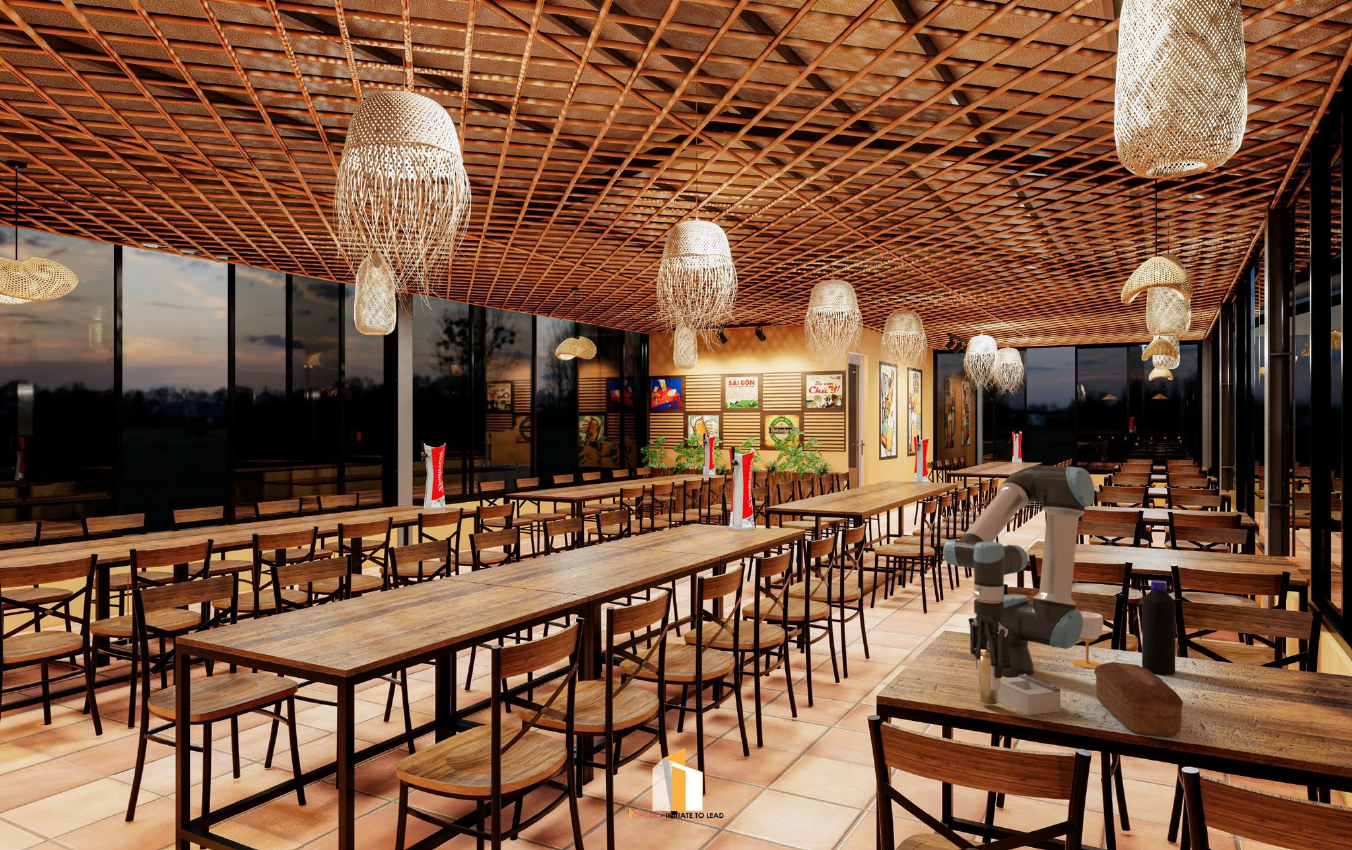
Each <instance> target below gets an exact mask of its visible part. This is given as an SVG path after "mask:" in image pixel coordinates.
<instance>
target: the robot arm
mask: <svg viewBox="0 0 1352 850" xmlns="http://www.w3.org/2000/svg"><path fill="white" fill-rule="evenodd" d="M1094 499H1095V485H1094V481H1093V478H1092V477H1091V474H1090V472H1089V471H1088V470H1086V469H1085V468H1083V467H1077V466H1062V465H1061V466H1056V465H1054V466H1053V465H1031V466H1027V467H1025V468H1022V469H1020V470H1018V471H1016V472H1014V473H1013V474H1012V475H1010V476H1008V477H1007V478H1006V479H1005V480H1004V481H1003V482H1002V483H1001V484H1000V485H999V487H998V489H997V493H996V495H995V497H994V498H993V499H992V500H991V501H990V503H989V504H988V505H987V507H986V508H984V510H983V511H982V512H981V513H980V515H979V516H978V517H977V518H976V520H975V521H974V522H973V523H972V524H971V526H970V527H968V528H967V530H966V531H965V533H964V534H963V535H962V536H961V538H960V539H957V538H955V539H954V538H953V539H948V540H946V542H945V544H944V546H943V550H942V553H943V558H944V561H945V562H946V563H947V564H949V565H952V566H957V567H960V568H966V569H967V568H969V569H973V575H974V576H973V577H974V578H973V588H974V589H973V597H974V598H975V599H974V600H973V611H974V613H975V617H970V618H968V623H969V634H970V635H969V637H970V639H969V642H970V644H969V645H970V646H969V647H970V649H969V650H970V654H971V655H973V656H974V659H976V662H975V663H976V666H975V667H976V670H977V672H976V673H977V674H976V675H977V681H976V682H977V684H978V685H980V648H991V655H992V661H993V664H991V690H998V689H1001V679H1003V678H1002V677H1003V676H1004V677H1005V676H1006V677H1010V678H1014V677H1019V675H1022V674H1026V675H1028V676H1030V677H1032V676H1033V675H1034V673H1035V666H1034V662H1033V660H1032V655H1031V652H1030V650H1029V642H1030V643H1036V644H1040V645H1044V646H1049V647H1051V648H1055V649H1056V648H1059V649H1064V650H1067V649H1068V650H1069V649H1072V648H1073V647H1074V646H1075V645H1076V644H1077V642H1078V641H1079V640H1080V638H1079V637H1080V635H1081V632H1082V627H1083V619H1082V614H1081V613H1080V612H1081V611H1080V610H1077V603H1076V602H1075V600H1073V598H1072V591H1073V582H1074V581H1073V579H1074V568H1075V561H1076V560H1075V559H1076V558H1075V556H1076V548H1077V547H1076V546H1077V537H1078V535H1077V534H1078V525H1079V518H1080V517H1081V516H1083V515H1084V514H1085V512H1086V511H1085V510H1086V508H1088V507H1091V506H1092V505H1093V504H1094ZM1031 503H1033V504H1034V503H1041V504H1042V506H1041V507H1042V510H1043V511H1044V512H1045V513H1046V521H1045V523H1046V524H1045V531H1044V532H1045V533H1044V542H1043V544H1044V545H1043V553H1042V554H1043V555H1042V562H1041V563H1042V564H1041V573H1040V583H1039V584H1040V585H1039V592H1038V593H1037V594H1036V595H1034V596H1033V598H1032V602H1030V599H1029V596H1027V595H1024V594H1005V582H1004V581H1005V580H1004V579H1005V578H1004V577H1005V576H1006V575H1011V574H1016V573H1019V572H1020V571H1023V570H1024V569H1026V567H1027V565H1028V561H1029V558H1028V557H1029V556H1028V554H1027V551H1025V549H1024V548H1023V547H1021V546H1020V545H1017V544H1007V545H1003V544H1002V543H1001V542H995V540H996V539H997V537H998V536H999V535H1000V533H1001V532H1002V531H1003V530H1004V529H1005V527H1006V526H1007V525H1009V522H1011V520H1012V519H1013V518H1014V516H1015V515H1016V513H1018V511H1019V510H1022V509H1024V508H1025V507H1027V506H1028V504H1031ZM997 660H998V661H997Z"/></svg>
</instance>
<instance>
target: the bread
mask: <svg viewBox="0 0 1352 850" xmlns="http://www.w3.org/2000/svg"><path fill="white" fill-rule="evenodd" d="M1100 664H1101V665H1099V666H1097V667H1096V668H1095V669H1093V671H1094V672H1093V673H1094V675H1095V694H1096V699H1097V700H1098V701H1099V702H1100V704H1101V705H1102V706H1104V707H1105V708H1106V709H1107V710H1108V711H1109V713H1110V714H1111V715H1112V716H1113V717H1115V718H1116V719H1117V720H1119V722H1121V723H1122V724H1123V726H1124V727H1125V728H1127V729H1128V730H1129V731H1131V732H1134V733H1139V734H1144V735H1151V736H1165V737H1167V736H1169V737H1170V736H1171V737H1172V736H1177V735H1178V734H1179V733H1181V730H1182V719H1183V717H1182V716H1183V715H1182V710H1183V707H1184V701H1183V699H1182V698H1181V697H1180V695H1179V693H1177V692H1176V691H1175V690H1174V689H1173V688H1172V687H1170V686H1169V685H1168V683H1166V682H1164V680H1162V679H1161V677H1159V676H1158V675H1157V674H1153V673H1152V672H1150V671H1149V670H1147V669H1145V668H1143V667H1142V665H1141V666H1140V665H1138V664H1134V663H1133V664H1132V663H1124V662H1116V661H1115V662H1114V661H1110V662H1106V663H1100Z"/></svg>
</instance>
